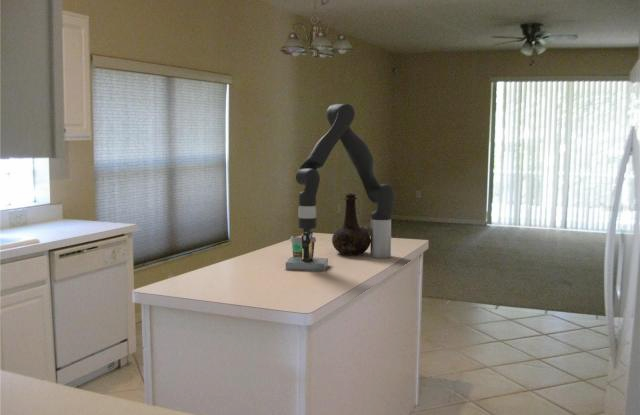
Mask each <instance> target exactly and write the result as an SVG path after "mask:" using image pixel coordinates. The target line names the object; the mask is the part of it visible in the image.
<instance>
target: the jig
mask: <svg viewBox="0 0 640 415" xmlns="http://www.w3.org/2000/svg"><path fill="white" fill-rule="evenodd" d="M327 267H329V257H326V258H325V257H313V258H312V261H302V257H293V256H291V257H290V258H288V259H287V261H285V270H289V271H314V272H315V271H316V272H317V271H319V272H325V270H326V269H327Z"/></svg>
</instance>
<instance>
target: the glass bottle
mask: <svg viewBox="0 0 640 415" xmlns="http://www.w3.org/2000/svg"><path fill="white" fill-rule="evenodd" d="M343 199H344V200H345V207H344V208H345V209H344V210H345V211H344V220H343V224H342V226H341V227H340V228H338V229H337V230H335V231H334V233H333V234H332V238H331V243H332V245H333V248H334V250H336V251H337V252H338V253H339V254H342V255H345V256H346V255H347V256H357V255H358V256H359V255H361V254H363V253H365V252H366V251H367V250H368V249H370V248H369V247H371V234H370V233H369V231H368V230H367V229H366V228H364V227H362V226H361V227H360V225H359V223H358V219H357V210H356V200H358V198H357V197H356V194H355V193H348V194H347V193H346V194H345V197H344V198H343Z"/></svg>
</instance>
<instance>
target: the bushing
mask: <svg viewBox="0 0 640 415" xmlns="http://www.w3.org/2000/svg"><path fill="white" fill-rule="evenodd" d="M305 246H307V244H305ZM302 261H312V242H311V244H309V258H308V259H305V258H304V249H302Z"/></svg>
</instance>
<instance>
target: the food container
mask: <svg viewBox="0 0 640 415" xmlns="http://www.w3.org/2000/svg"><path fill="white" fill-rule="evenodd" d="M289 241H290V242H291V247H292V257H302V236H301V237H300V236H299V237H297V236H294V234H292V235H291V236H290V240H289ZM316 242H317V239H316V237H315V236H312V258H314V252H315V251H314V250H315V243H316Z"/></svg>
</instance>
